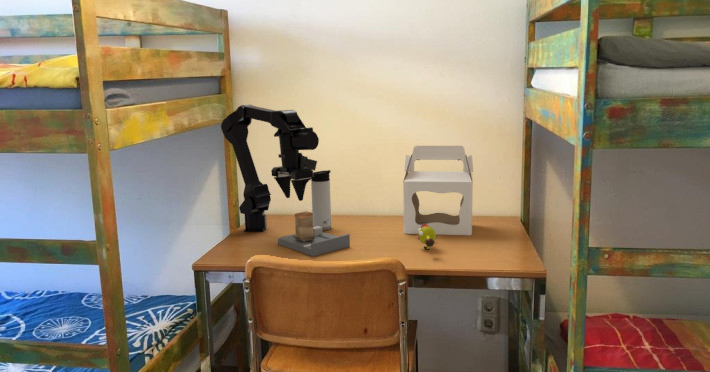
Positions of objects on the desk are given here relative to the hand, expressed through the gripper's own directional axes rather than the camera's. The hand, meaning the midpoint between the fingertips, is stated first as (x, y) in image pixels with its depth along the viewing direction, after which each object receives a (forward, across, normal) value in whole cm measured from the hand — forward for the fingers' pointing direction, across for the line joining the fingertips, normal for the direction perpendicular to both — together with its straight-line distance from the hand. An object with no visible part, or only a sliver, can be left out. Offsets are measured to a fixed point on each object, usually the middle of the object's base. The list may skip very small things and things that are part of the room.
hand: (294, 199), depth 189 cm
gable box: (+16, -18, -43) cm, 49 cm away
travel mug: (+13, +6, -12) cm, 19 cm away
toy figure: (+16, -33, -26) cm, 45 cm away
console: (+14, -10, 0) cm, 17 cm away
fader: (+11, -9, +2) cm, 15 cm away
